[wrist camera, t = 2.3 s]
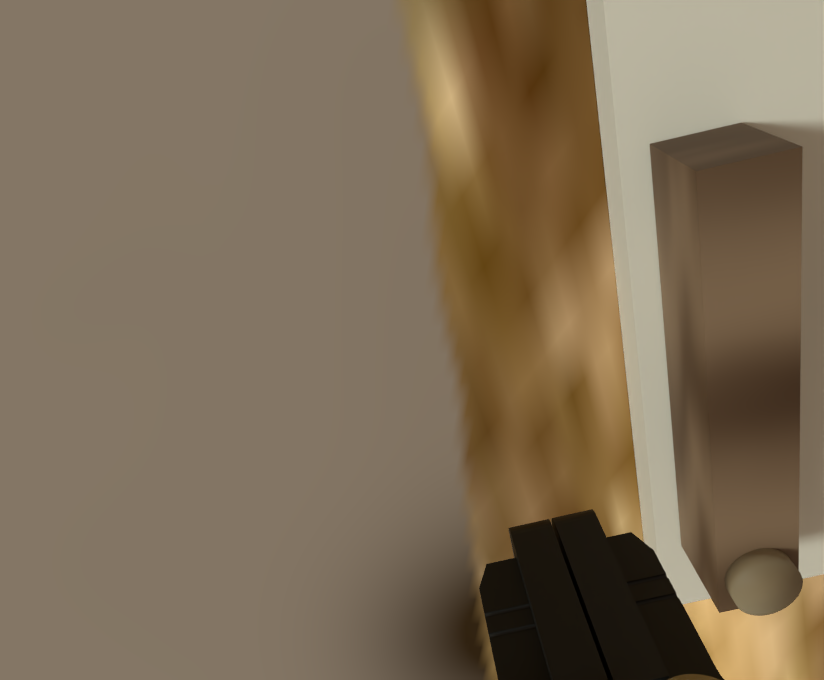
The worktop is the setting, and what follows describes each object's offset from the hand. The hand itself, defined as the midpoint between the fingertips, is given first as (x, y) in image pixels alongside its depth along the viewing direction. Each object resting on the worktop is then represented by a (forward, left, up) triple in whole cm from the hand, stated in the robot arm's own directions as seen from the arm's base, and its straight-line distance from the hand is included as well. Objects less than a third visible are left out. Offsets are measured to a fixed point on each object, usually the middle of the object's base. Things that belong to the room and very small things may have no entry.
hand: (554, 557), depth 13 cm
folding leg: (+3, +7, -9) cm, 12 cm away
